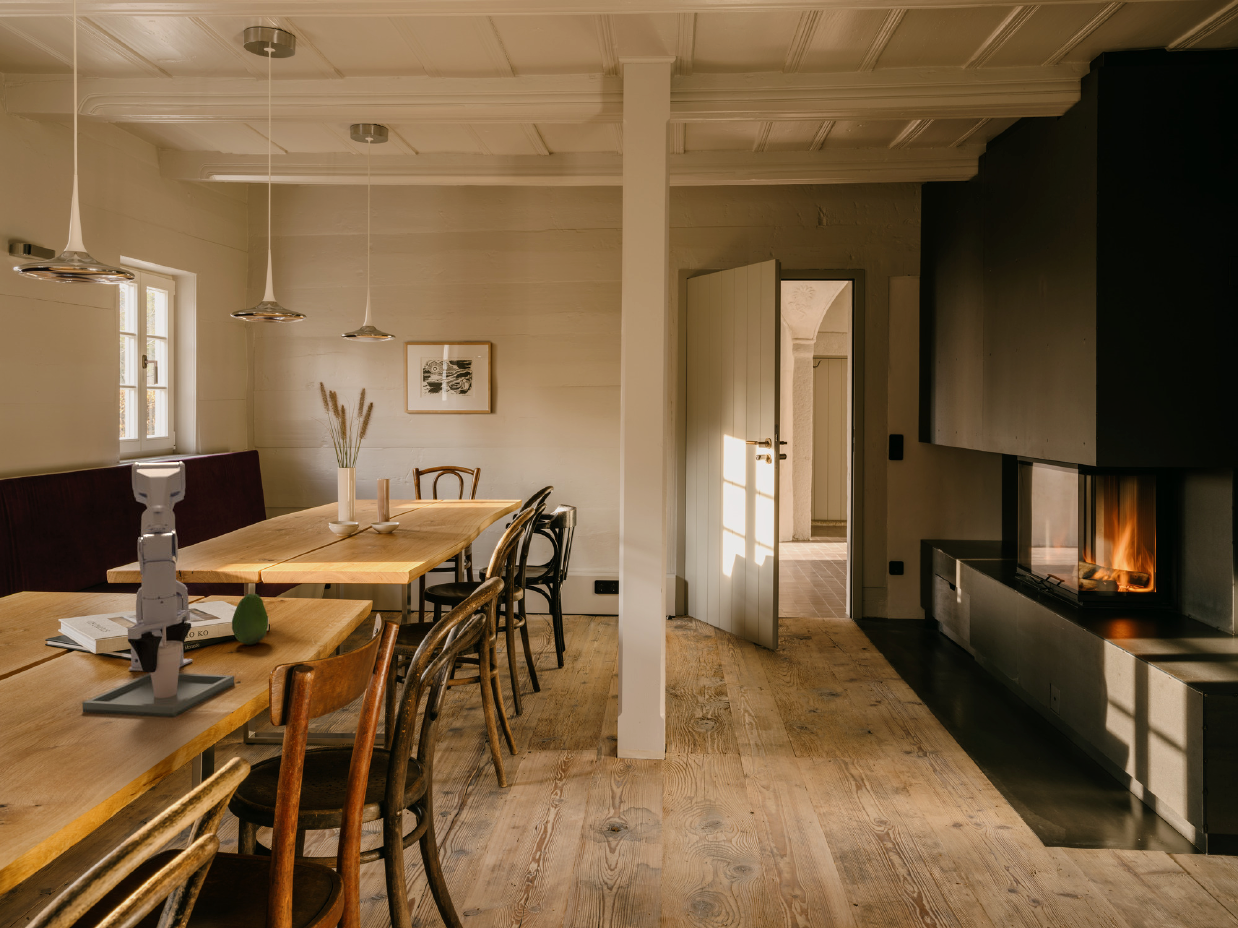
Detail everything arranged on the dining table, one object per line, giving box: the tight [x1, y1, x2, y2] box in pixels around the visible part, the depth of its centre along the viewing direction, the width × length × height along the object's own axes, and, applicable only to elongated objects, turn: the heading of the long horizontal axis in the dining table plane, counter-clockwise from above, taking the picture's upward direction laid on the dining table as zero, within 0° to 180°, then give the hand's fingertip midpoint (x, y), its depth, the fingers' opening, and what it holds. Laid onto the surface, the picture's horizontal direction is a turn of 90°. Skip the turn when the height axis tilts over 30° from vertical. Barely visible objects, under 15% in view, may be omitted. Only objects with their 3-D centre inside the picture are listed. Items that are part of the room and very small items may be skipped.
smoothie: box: [151, 626, 184, 698], centre depth 154 cm, size 6×6×14 cm
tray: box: [82, 672, 235, 718], centre depth 155 cm, size 18×18×2 cm
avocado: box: [231, 593, 269, 646], centre depth 192 cm, size 8×8×12 cm
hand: (161, 666), depth 155 cm, fingers closed on smoothie, 6 cm apart
